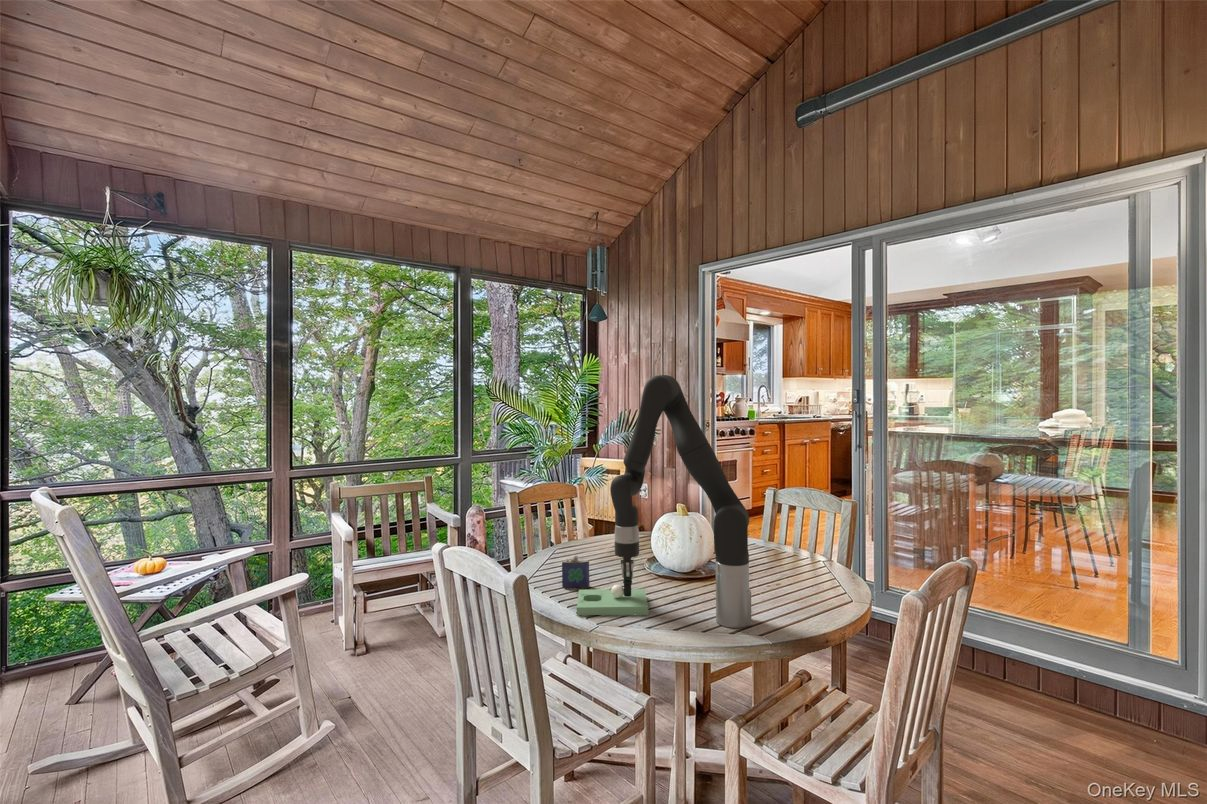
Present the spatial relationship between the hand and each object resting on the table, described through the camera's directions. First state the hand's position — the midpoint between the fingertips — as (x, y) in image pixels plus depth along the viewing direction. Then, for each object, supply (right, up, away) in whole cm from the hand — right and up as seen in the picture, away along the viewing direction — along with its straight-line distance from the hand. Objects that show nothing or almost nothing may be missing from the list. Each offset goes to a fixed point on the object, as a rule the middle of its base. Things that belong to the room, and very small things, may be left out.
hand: (627, 595), depth 173 cm
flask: (-17, -3, +17) cm, 24 cm away
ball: (-3, +1, 0) cm, 3 cm away
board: (-5, -3, 0) cm, 6 cm away
